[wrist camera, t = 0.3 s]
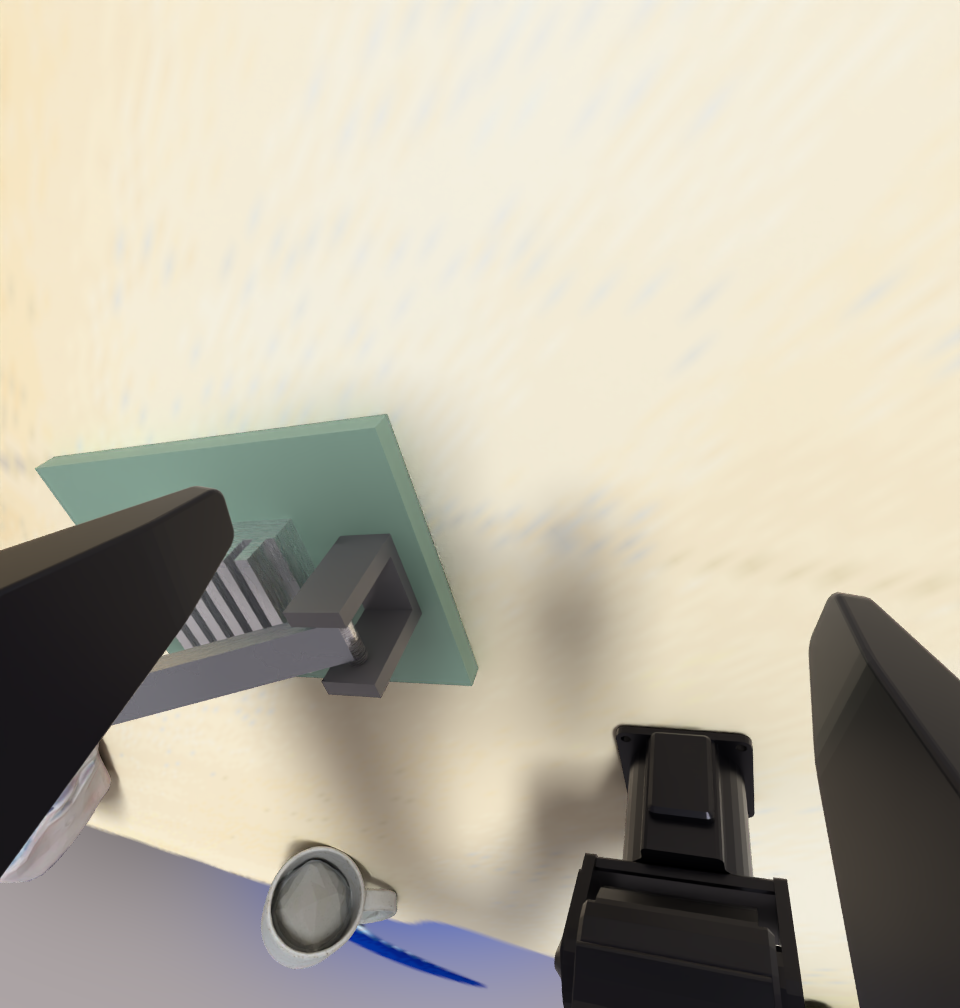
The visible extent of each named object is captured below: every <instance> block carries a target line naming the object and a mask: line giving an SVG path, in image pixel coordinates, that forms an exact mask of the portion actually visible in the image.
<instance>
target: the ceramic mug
mask: <svg viewBox="0 0 960 1008" xmlns="http://www.w3.org/2000/svg"><path fill="white" fill-rule="evenodd" d="M396 912H397V896H396V893H395V892H394V891H392V890H388V889H365V885H364V881H363V878H362V875H361V872H360V870H359V868H358V866H357V865H356V864H355V862H354V861H353V860H352V859H351V858H350V857H349V856H348V855H346V854H345V853H344V852H342V851H340V850H338V849H335V848H332V847H327V846H316V847H311V848H308V849H306V850H303V851H301V852H299V853H298V854H296V855H295V856H293V857H292V858H290V859H289V860H288V861H287V862H286V863H285V864H284V865H283V866H282V868H281V869H280V870H279V872H278V873H277V875H276V876H275V878H274V880H273V882H272V884H271V887H270V889H269V892H268V896H267V898H266V902H265V905H264V908H263V913H262V919H261V933H262V939H263V942H264V945H265V947H266V949H267V951H268V953H269V954H270V955H271V956H272V958H273V959H274V960H275V961H277V962H278V963H280V964H281V965H283V966H286V967H288V968H292V969H303V968H308V967H312V966H314V965H316V964H319V963H320V962H322V961H323V960H325V959H326V958H328V957H329V956H330V955H331V954H333V953H334V952H335V951H337V950H338V949H339V948H340V947H341V946H343V945H344V944H345V943H346V942H347V941H348V940H349V938H350V937H351V936H352V934H353V933H354V931H355V930H356V928H357V926H358V924H366V923H373V922H376V921H382V920H385V919H388V918H390V917H392V916H394V915H395V914H396Z"/></svg>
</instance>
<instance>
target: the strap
mask: <svg viewBox="0 0 960 1008" xmlns="http://www.w3.org/2000/svg"><path fill="white" fill-rule="evenodd" d="M367 658H368V652H367V650H366V648H365V646H364V644H363V642H362V640H361V638H360V636H359V634H358V632H357V630H356V628H355V626H354V624H353V622H352V620H351V622H350V624H349V625H348V627H347V628H303V627H291V626H290V625H289V623H288V622H286V623H282V624H278V625H275V626H271V627H267V628H264V629H260V630H256V631H252V632H249V633H245V634H241V635H238V636H234V637H230V638H227V639H223V640H219V641H215V642H212V643H208V644H204V645H201V646H197V647H193V648H189V649H186V650H182V651H178V652H175V653H171V654H167V655H163V656H161V658H160V659H159V660H158V662H157V663H156V665H155V666H154V667H153V669H152V670H151V671H150V673H149V674H148V676H147V677H146V678H145V680H144V681H143V682H142V684H141V685H140V687H139V688H138V689H137V691H136V692H135V694H134V695H133V696H132V698H131V699H130V700H129V702H128V703H127V705H126V706H125V707H124V709H123V710H122V711H121V713H120V714H119V716H118V717H117V718H116V720H115V721H114V722H113V724H112V725H115V724H119V723H122V722H126V721H130V720H134V719H138V718H141V717H145V716H149V715H153V714H156V713H160V712H164V711H168V710H171V709H175V708H179V707H183V706H186V705H190V704H194V703H198V702H201V701H205V700H209V699H213V698H217V697H220V696H224V695H228V694H232V693H235V692H239V691H243V690H247V689H250V688H254V687H258V686H262V685H265V684H269V683H273V682H277V681H280V680H284V679H288V678H292V677H295V676H299V675H303V674H307V673H311V672H314V671H318V670H322V669H326V668H329V667H333V666H337V665H341V664H344V663H349V664H350V665H351V666H358V665H360V664H362V663H364V662H365V661H366V659H367Z"/></svg>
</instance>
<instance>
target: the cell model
mask: <svg viewBox="0 0 960 1008" xmlns="http://www.w3.org/2000/svg"><path fill="white" fill-rule="evenodd" d="M98 748H99V744H97V746H96V747H95V749H94V750H93V751H92V753H91V754H90V755H89V757H88V758H87V760H86V761H85V762H84V764H83V765H82V767H81V768H80V769H79V771H78V772H77V773H76V775H75V776H74V778H73V779H72V780H71V782H70V783H69V784H68V786H67V787H66V789H65V790H64V791H63V793H62V794H61V795H60V797H59V798H58V800H57V801H56V802H55V804H54V805H53V806H52V808H51V809H50V811H49V812H48V813H47V815H46V816H45V817H44V819H43V820H42V822H41V823H40V824H39V826H38V827H37V828H36V830H35V831H34V833H33V834H32V835H31V837H30V838H29V840H28V841H27V842H26V844H25V845H24V846H23V848H22V849H21V851H20V852H19V853H18V855H17V856H16V857H15V859H14V860H13V862H12V863H11V864H10V866H9V867H8V868H7V870H6V871H5V873H4V874H3V875H2V877H1V878H0V883H16V882H24V881H30V880H32V879H35V878H37V877H39V876H41V875H43V874H44V873H45V872H46V871H47V870H48V869H50V868H51V867H52V866H53V865H54V864H55V863H56V862H57V861H58V860H59V858H60V857H61V856H62V855H63V854H64V853H65V852H66V850H67V849H68V848H69V847H70V846H71V844H72V843H73V842H74V841H75V839H76V838H77V837H78V835H79V834H80V833H81V831H82V830H83V828H84V827H85V825H86V824H87V822H88V821H89V819H90V818H91V816H92V814H93V813H94V811H95V809H96V808H97V806H98V804H99V802H100V801H101V799H102V798H103V796H104V795H105V794H106V793H107V791H108V790H109V787H110V785H111V777H110V775H109V773H108V771H107V769H106V768H105V766H104V764H103V762H102V760H101V757H100V755H99V751H98Z"/></svg>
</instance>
